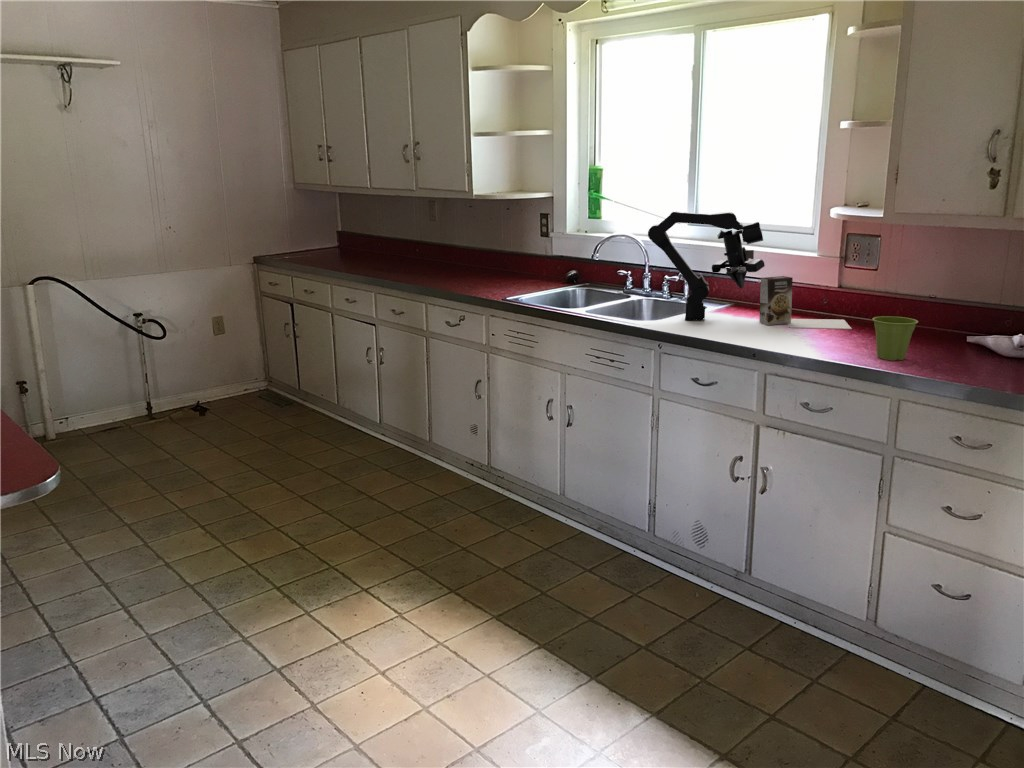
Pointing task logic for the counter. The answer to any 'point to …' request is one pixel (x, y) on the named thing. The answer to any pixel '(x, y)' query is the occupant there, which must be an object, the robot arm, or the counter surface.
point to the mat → (819, 324)
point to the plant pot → (893, 336)
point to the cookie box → (775, 300)
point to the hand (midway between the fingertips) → (741, 288)
